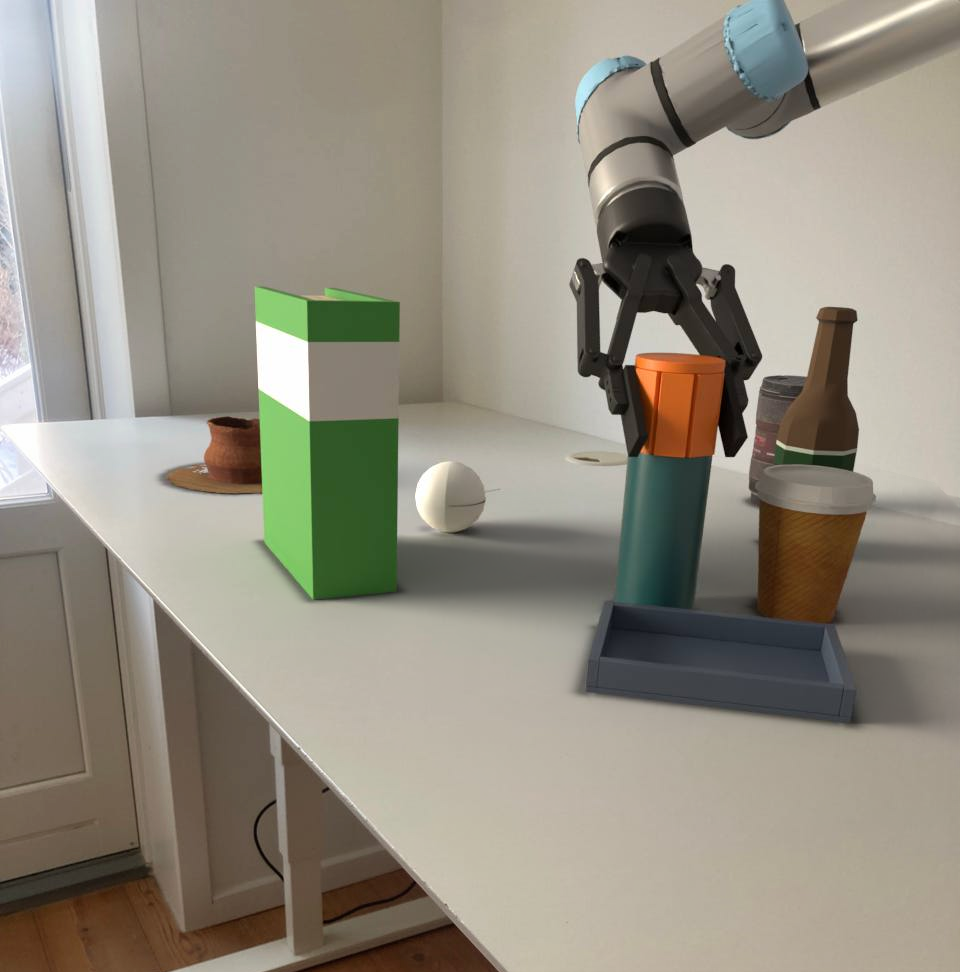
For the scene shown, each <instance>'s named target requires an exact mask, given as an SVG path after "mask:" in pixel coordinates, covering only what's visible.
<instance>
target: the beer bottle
mask: <svg viewBox="0 0 960 972" xmlns="http://www.w3.org/2000/svg"><path fill="white" fill-rule="evenodd" d="M817 312H818V313H817V314H816V316H815V319H816V320H817V321H818V324H817V330H816V334H815V339H814V343H813V348H812V351H811V352H812V353H811V356H810V360H809V361H810V362H809V366H808V370H807V375H806V377H807V378H806V381H805V384H804V387H803V390H802V392H801V393H800V395H799V396H798V397H797V398H796V399H795V400H794V401H793V403H792V404H791V405H790V406H789V407H788V409H787V411H786V413H785V415H784V417H783V419H782V421H781V423H780V428H779V432H778V437H777V442H776V448H775V455H774V462H773V466H776V465H793V464H797V465H815V466H824V467H832V468H838V469H843V470H848V471H852V472H854V470H855V464H856V458H857V451H858V444H859V435H860V427H859V421H858V417H857V412H856V410H855V408H854V406H853V403H852V402H851V399H850V397H849V391H848V390H849V389H848V387H849V385H848V384H849V383H848V382H849V381H848V380H849V379H848V378H849V369H850V360H851V350H852V340H853V332H854V331H853V330H854V324H855V323H857V322H858V312H857V310H856V309H854V308H851V307H843V306H824V307H821V308H819V310H818V311H817Z"/></svg>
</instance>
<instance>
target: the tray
mask: <svg viewBox="0 0 960 972" xmlns="http://www.w3.org/2000/svg"><path fill="white" fill-rule="evenodd" d="M586 664H587V665H586V672H585V673H586V674H585V686H584V687H585V688H584V692H585V693H594V694H601V695H609V696H616V697H617V696H618V697H625V698H635V699H642V700H652V701H657V702H658V701H660V702H668V703H675V704H683V705H684V704H685V705H692V706H701V707H707V708H708V707H709V708H718V709H726V710H733V711H742V712H752V713H759V714H768V715H775V716H784V717H791V718H801V719H809V720H816V721H826V722H833V723H842V724H851V722H852V716H853V712H854V706H855V701H856V698H857V697H856V696H857V692H858V691H857V687H856V685H855V681H854V679H853V675H852V672H851V669H850V666H849V663H848V661H847V657H846V655H845V651H844V649H843V644H842V642H841V640H840V637H839V634H838V631H837V628H836V625H835V624H832V623H825V624H823V623H815V622H805V621H796V620H786V619H777V618H769V617H767V616H756V615H747V614H739V613H738V614H737V613H729V612H718V611H708V610H698V609H693V610H690V609H681V608H671V607H662V606H652V605H642V604H633V603H623V602H614V600H613V601H612V600H604V601H603V605H602V608H601V611H600V615H599V618H598V622H597V625H596V628H595V633H594V636H593V638H592V643H591V646H590V650H589V653H588V657H587V663H586Z"/></svg>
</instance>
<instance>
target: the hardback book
mask: <svg viewBox="0 0 960 972" xmlns="http://www.w3.org/2000/svg"><path fill="white" fill-rule="evenodd" d="M254 307H255V311H254V312H255V332H256V334H255V335H256V337H255V338H256V358H257V359H256V360H257V362H256V363H257V383H258V385H257V386H258V410H259V411H258V413H259V414H258V415H259V419H260V440H261V466H262V492H263V493H262V516H263V518H262V519H263V535H264V536H263V541H264V544H265V545H266V547H268V549H269V550H270V552H272V554H274V556H275V557H276V558H277V559H278V561H280V563H281V564H282V565H283V566H284V568H285V569H286V570H287V571H288V573H290V575H291V576H292V577H293V578H294V579H295V581H296V582H297V583H298V584H299V586H301V587H302V589H303V590H304V591H305V592H306V594H308V596H309V597H310V598H311V599H312V600H313V601H315V600H324V599H335V598H345V597H353V596H363V595H364V596H365V595H372V594H383V593H391V592H398V575H397V574H398V513H399V512H398V509H399V505H398V504H399V502H398V501H399V418H400V417H399V416H400V415H399V412H400V411H399V410H400V408H399V407H400V329H401V328H400V327H401V326H400V321H401V320H400V314H401V302H400V301H397V300H393V299H387V298H383V297H378V296H373V295H369V294H364V293H359V292H355V291H350V290H346V289H341V288H336V287H324V295H309V294H308V295H307V294H306V295H305V294H304V295H303V294H301V295H299V294H295V293H291V292H286V291H284V290H279V289H275V288H271V287H268V286H254Z"/></svg>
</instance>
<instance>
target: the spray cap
mask: <svg viewBox="0 0 960 972" xmlns="http://www.w3.org/2000/svg"><path fill="white" fill-rule="evenodd" d="M634 360H635V362H634V365H635V369H636V375H637V380H638V385H639V390H640V396H641V401H642V406H643V411H644V416H645V422H646V427H647V432H648V438H647V440H646V442H645V444H644V446H643V448H642V450H641V453H645V454H653V455H655V456H667V457H680V458H685V457H688V458H694V457H703V456H712V455H713V456H714V455H715V453H716V446H717V445H716V444H717V443H716V442H717V437H718V431H719V427H718V422H719V414H720V406H721V398H722V390H723V382H724V370H725V360H724V359H721V358H717V357H712V356H705V355H699V354H694V353H682V352H680V353H679V352H643V353H638V354H636V355H635V359H634ZM713 456H712V457H713Z"/></svg>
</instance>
